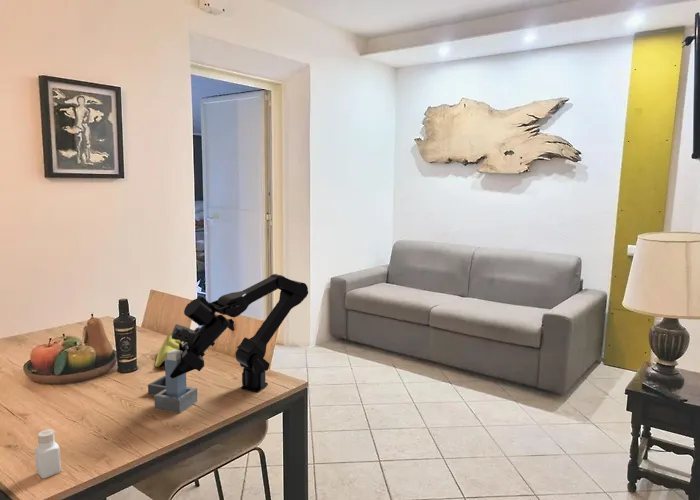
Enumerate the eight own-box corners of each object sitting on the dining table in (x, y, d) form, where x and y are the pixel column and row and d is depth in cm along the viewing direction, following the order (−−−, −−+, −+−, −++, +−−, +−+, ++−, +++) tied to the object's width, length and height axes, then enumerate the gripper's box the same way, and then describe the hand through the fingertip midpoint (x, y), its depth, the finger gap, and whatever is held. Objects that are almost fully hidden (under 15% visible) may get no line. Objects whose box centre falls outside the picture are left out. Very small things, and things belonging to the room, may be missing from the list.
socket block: (197, 401, 148) (197, 387, 147) (179, 413, 140) (179, 398, 140) (173, 397, 151) (173, 383, 150) (154, 408, 143) (154, 394, 142)
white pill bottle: (41, 480, 108) (38, 439, 107) (35, 473, 111) (32, 432, 110) (62, 472, 111) (59, 432, 110) (55, 465, 114) (52, 426, 113)
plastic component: (190, 360, 175) (163, 350, 172) (181, 378, 176) (153, 368, 173) (192, 338, 194) (167, 329, 191) (184, 355, 195) (159, 346, 191)
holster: (183, 388, 157) (183, 379, 157) (168, 397, 150) (168, 388, 150) (164, 384, 159) (163, 375, 159) (148, 394, 152) (147, 384, 152)
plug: (186, 392, 146) (185, 350, 144) (178, 398, 143) (176, 354, 141) (175, 391, 148) (173, 348, 146) (166, 396, 144) (164, 353, 142)
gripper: (186, 307, 152) (148, 346, 149) (190, 324, 135) (148, 368, 132) (213, 330, 156) (177, 368, 153) (221, 349, 138) (180, 392, 136)
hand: (170, 373), depth 144 cm, fingers closed on plug, 6 cm apart
